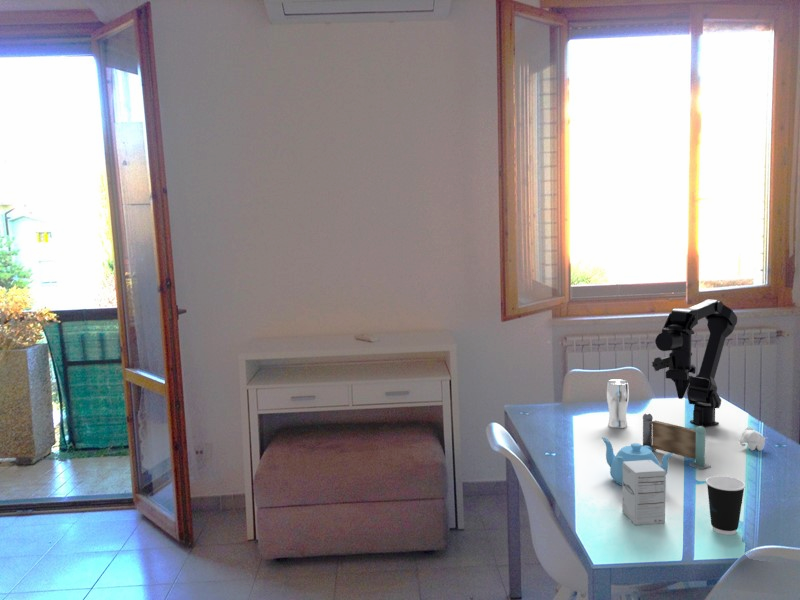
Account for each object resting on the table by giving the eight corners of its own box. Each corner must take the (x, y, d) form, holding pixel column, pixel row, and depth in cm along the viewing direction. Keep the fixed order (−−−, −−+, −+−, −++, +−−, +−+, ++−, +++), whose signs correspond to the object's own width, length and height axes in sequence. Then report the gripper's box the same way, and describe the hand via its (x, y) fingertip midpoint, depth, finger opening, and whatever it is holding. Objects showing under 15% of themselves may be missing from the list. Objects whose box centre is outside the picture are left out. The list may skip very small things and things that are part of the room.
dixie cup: (696, 527, 153) (697, 480, 152) (720, 519, 157) (721, 473, 155) (728, 541, 146) (729, 492, 145) (752, 532, 150) (753, 484, 149)
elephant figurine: (735, 444, 206) (735, 425, 205) (764, 445, 204) (764, 426, 204) (741, 452, 199) (742, 432, 199) (771, 453, 198) (772, 433, 197)
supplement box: (621, 512, 162) (621, 460, 161) (651, 510, 163) (652, 458, 161) (634, 526, 155) (634, 472, 153) (666, 523, 155) (666, 470, 154)
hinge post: (647, 445, 208) (647, 410, 207) (660, 450, 203) (660, 414, 202) (634, 448, 206) (635, 412, 205) (647, 453, 201) (647, 416, 200)
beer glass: (626, 422, 231) (626, 379, 229) (630, 429, 224) (631, 384, 222) (604, 422, 232) (604, 379, 230) (609, 429, 225) (609, 384, 223)
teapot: (655, 471, 187) (655, 435, 186) (675, 493, 172) (676, 453, 171) (601, 472, 188) (601, 436, 186) (617, 494, 173) (617, 454, 172)
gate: (651, 448, 202) (651, 420, 201) (655, 447, 204) (655, 418, 202) (701, 462, 190) (702, 431, 189) (705, 460, 191) (706, 430, 190)
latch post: (699, 462, 192) (700, 423, 191) (711, 467, 189) (711, 427, 187) (688, 465, 191) (689, 425, 189) (700, 469, 187) (701, 429, 186)
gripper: (659, 345, 227) (659, 392, 228) (648, 350, 211) (647, 400, 211) (696, 347, 221) (695, 395, 222) (687, 352, 205) (686, 404, 206)
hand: (680, 398), depth 215 cm, fingers closed
